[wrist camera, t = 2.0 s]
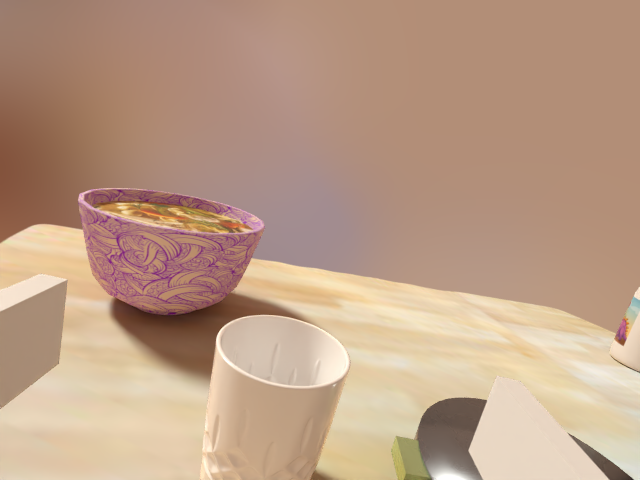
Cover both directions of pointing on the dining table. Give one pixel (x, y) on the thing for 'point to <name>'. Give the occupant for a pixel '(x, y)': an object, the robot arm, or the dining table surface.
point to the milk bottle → (629, 336)
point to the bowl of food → (166, 247)
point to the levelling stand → (459, 445)
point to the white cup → (271, 399)
